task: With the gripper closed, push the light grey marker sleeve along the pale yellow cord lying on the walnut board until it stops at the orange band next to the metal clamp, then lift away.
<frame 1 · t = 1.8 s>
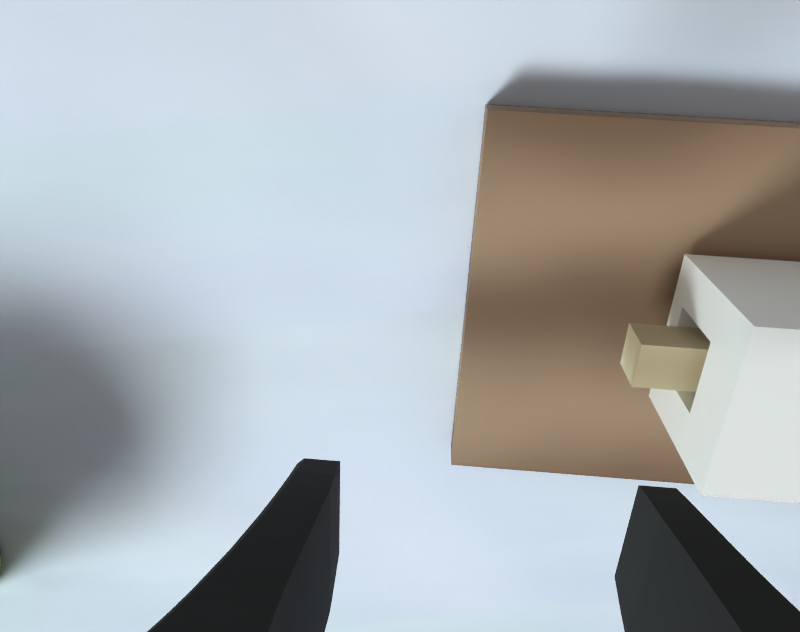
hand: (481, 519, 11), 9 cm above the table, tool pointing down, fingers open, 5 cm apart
sleeve: (794, 374, 16), point 3 cm above the table, slide at 0.0 cm
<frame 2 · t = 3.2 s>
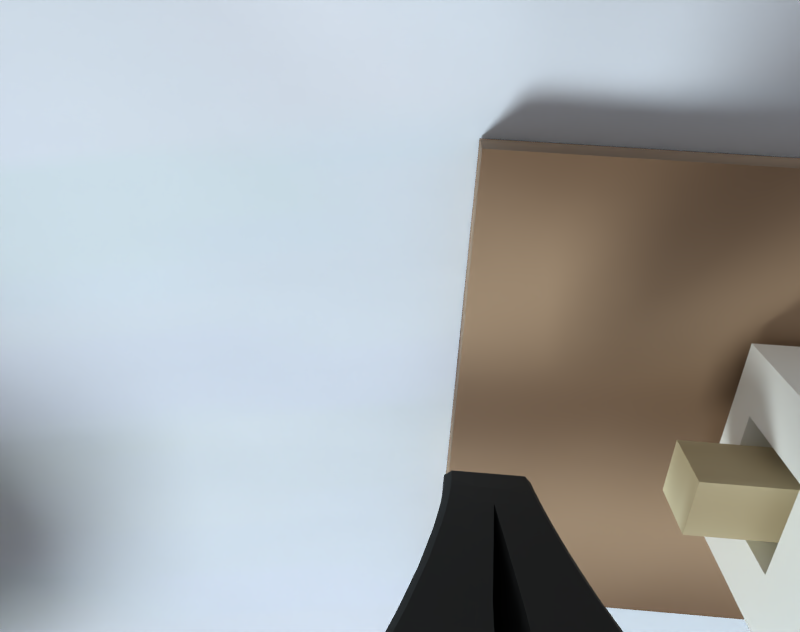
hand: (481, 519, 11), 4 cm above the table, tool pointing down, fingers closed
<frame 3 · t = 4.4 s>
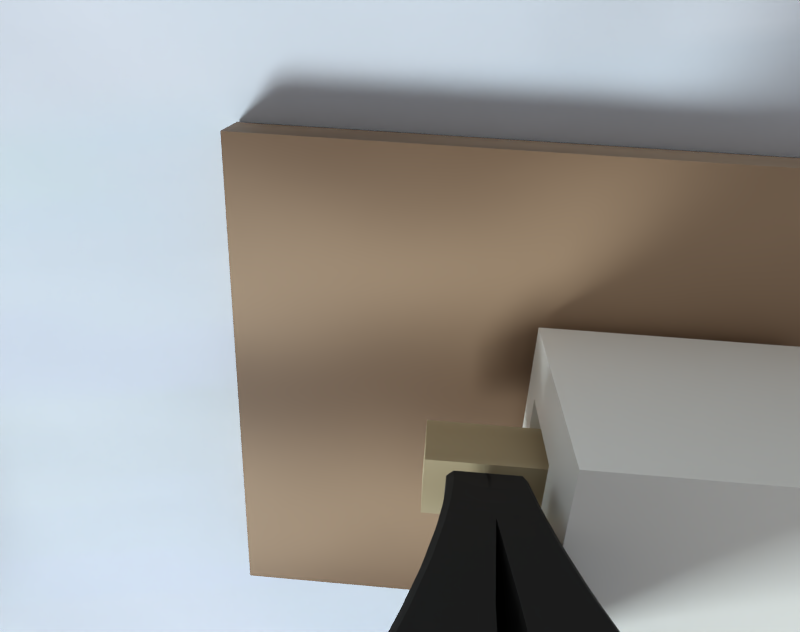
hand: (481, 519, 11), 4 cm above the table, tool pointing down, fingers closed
sleeve: (677, 502, 12), point 3 cm above the table, slide at 0.6 cm, touching gripper
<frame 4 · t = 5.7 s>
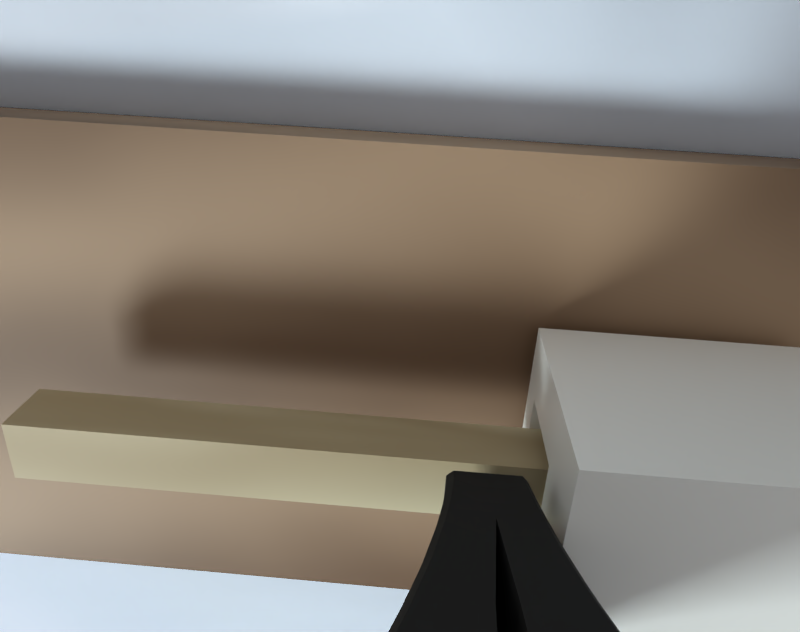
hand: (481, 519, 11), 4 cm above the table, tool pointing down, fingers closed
sleeve: (677, 502, 12), point 3 cm above the table, slide at 8.2 cm, touching gripper
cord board: (573, 393, 15), on the table
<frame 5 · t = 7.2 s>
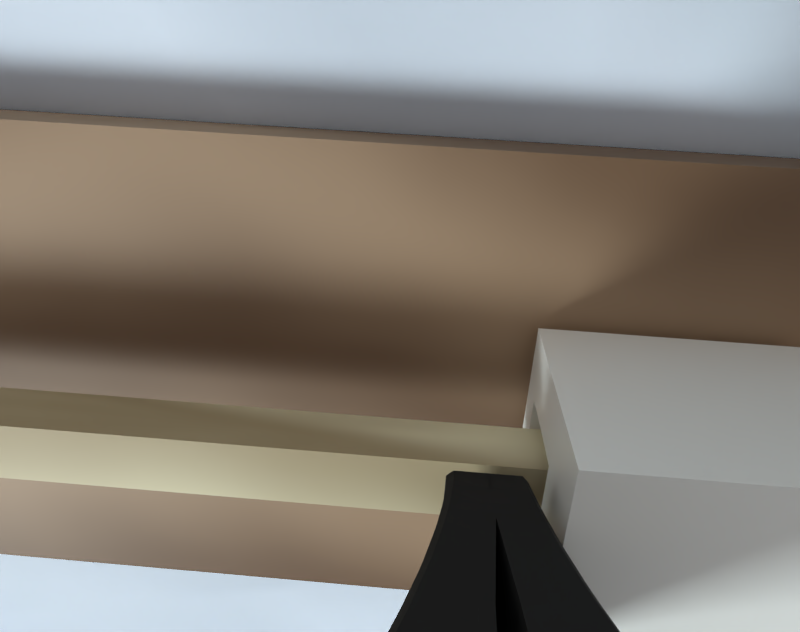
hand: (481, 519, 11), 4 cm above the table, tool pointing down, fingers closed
sleeve: (677, 502, 12), point 3 cm above the table, slide at 13.9 cm, touching gripper
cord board: (325, 374, 15), on the table
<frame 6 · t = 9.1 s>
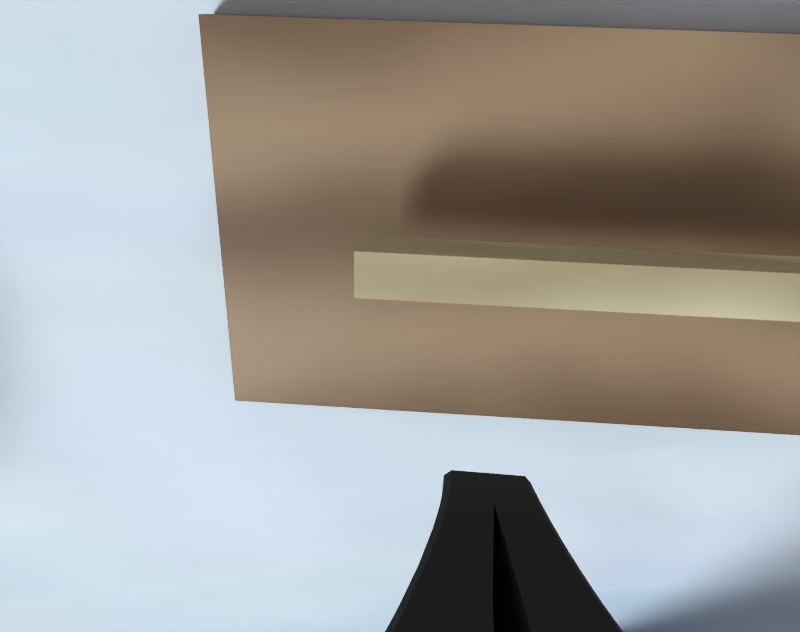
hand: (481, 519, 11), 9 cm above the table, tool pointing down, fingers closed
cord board: (756, 247, 18), on the table
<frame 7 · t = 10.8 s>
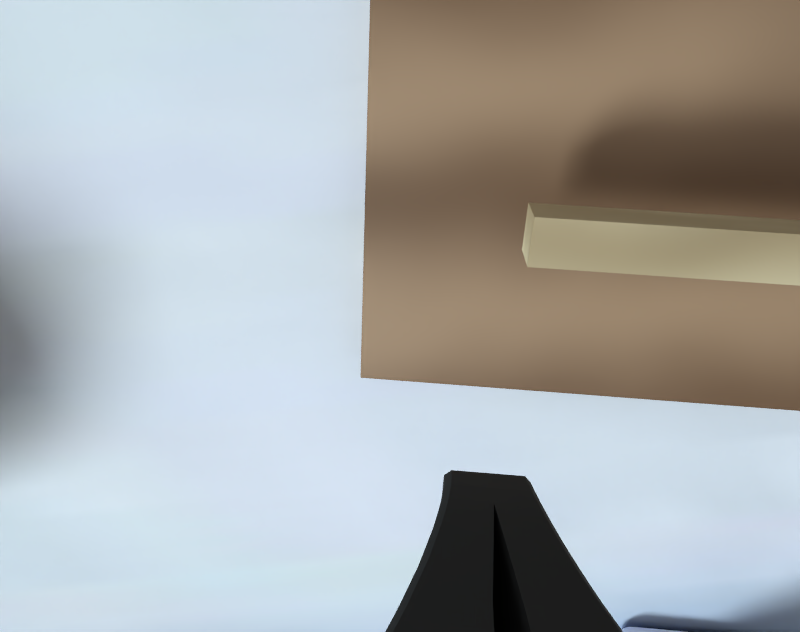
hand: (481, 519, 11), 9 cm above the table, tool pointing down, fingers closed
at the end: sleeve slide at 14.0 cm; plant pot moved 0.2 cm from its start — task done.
